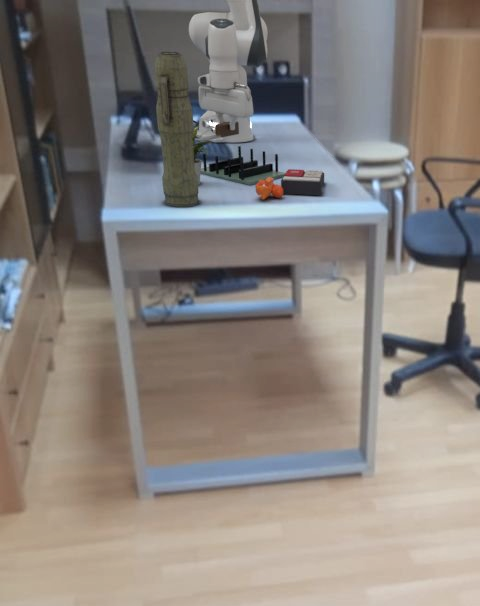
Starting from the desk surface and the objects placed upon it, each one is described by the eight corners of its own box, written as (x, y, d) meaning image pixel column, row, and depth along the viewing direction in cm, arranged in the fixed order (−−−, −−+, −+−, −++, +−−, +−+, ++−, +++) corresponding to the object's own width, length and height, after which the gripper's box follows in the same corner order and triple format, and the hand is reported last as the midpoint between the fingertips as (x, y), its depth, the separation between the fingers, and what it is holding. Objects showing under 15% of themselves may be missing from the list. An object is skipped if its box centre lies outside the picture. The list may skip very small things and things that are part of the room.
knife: (233, 132, 249) (233, 120, 247) (239, 134, 248) (238, 122, 246) (194, 140, 237) (193, 128, 235) (200, 142, 236) (199, 129, 234)
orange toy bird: (264, 169, 213) (255, 180, 203) (289, 180, 214) (282, 191, 204) (258, 187, 216) (249, 198, 206) (284, 197, 217) (276, 209, 207)
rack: (195, 172, 232) (194, 151, 229) (233, 163, 243) (232, 144, 240) (250, 185, 222) (249, 164, 219) (286, 175, 233) (286, 155, 230)
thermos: (204, 197, 208) (194, 51, 190) (192, 209, 198) (181, 56, 180) (171, 195, 209) (158, 49, 190) (158, 207, 199) (143, 54, 180)
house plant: (171, 192, 211) (165, 128, 203) (154, 181, 221) (147, 119, 212) (220, 187, 218) (216, 125, 209) (201, 176, 228) (197, 116, 219)
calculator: (324, 169, 225) (321, 179, 212) (324, 185, 228) (320, 195, 214) (286, 167, 225) (280, 177, 212) (286, 183, 228) (280, 193, 214)
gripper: (257, 83, 234) (258, 132, 242) (208, 75, 244) (211, 122, 252) (242, 86, 230) (244, 135, 238) (193, 77, 240) (197, 125, 247)
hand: (227, 128), depth 245 cm, fingers closed on knife, 2 cm apart
